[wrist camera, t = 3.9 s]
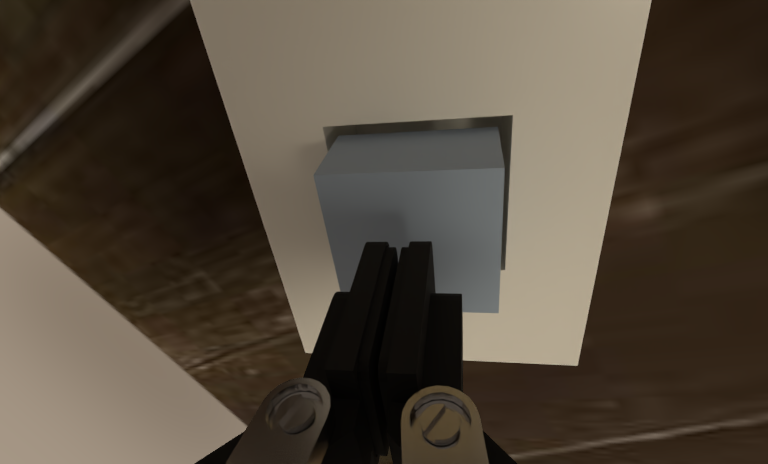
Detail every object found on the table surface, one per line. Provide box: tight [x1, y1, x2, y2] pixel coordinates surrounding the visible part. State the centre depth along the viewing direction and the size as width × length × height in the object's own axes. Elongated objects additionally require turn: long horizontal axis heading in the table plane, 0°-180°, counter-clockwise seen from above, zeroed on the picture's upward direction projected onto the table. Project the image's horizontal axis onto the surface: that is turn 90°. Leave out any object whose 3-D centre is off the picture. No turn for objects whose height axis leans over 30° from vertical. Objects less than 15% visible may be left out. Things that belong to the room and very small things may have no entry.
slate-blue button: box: [313, 127, 505, 313], centre depth 14 cm, size 5×5×3 cm
